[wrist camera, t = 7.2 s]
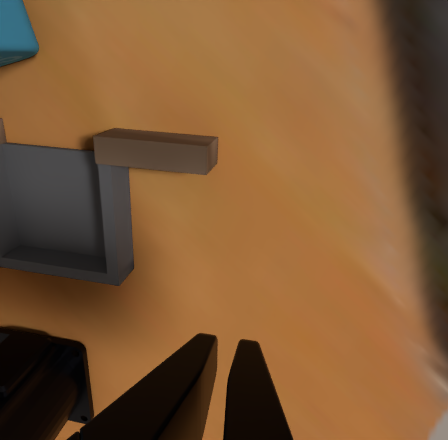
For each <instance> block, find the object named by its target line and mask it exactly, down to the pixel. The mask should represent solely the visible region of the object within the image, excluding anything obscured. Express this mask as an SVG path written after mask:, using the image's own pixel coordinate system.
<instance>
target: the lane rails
mask: <svg viewBox="0 0 448 440" xmlns="http://www.w3.org/2000/svg"><path fill="white" fill-rule="evenodd" d="M93 140H94V152H95V163H96V164H104V165H114V166H124V167H133V168H143V169H153V170H162V171H172V172H181V173H191V174H201V175H207V174H208V173H209V172H210V171H211V169H212V168H213V167H214V166H215V165H216V164H217V153H218V137H211V136H200V135H188V134H177V133H165V132H153V131H142V130H130V129H119V128H114V129H111V130H108V131H105V132H103V133H100V134H97V135H95V136H93ZM3 143H7V142H6V136H5V131H4V125H3V119H2V118H0V144H3Z"/></svg>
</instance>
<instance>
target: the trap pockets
mask: <svg viewBox="0 0 448 440" xmlns="http://www.w3.org/2000/svg"><path fill="white" fill-rule="evenodd" d="M0 267H4V268H10V269H17V270H23V271H29V272H35V273H42V274H48V275H54V276H60V277H67V278H73V279H79V280H85V281H92V282H98V283H104V284H110V285H116V286H120V284H121V283H122V282H123V281H124V280H125V278H126V277H127V276H128V275H129V274H130V273H131V271H132V270H133V269H134V260H133V241H132V223H131V204H130V185H129V167H124V166H114V165H104V164H96V163H95V152H94V151H88V150H78V149H68V148H58V147H48V146H37V145H27V144H17V143H3V144H0Z"/></svg>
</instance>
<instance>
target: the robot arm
mask: <svg viewBox="0 0 448 440" xmlns="http://www.w3.org/2000/svg"><path fill="white" fill-rule="evenodd" d="M217 346H218V340H217V337H216V336H215V335H211V334H204V333H199V334H197V335H196V336H194V337H193V338H192V339H191V340H189V341H188V342H187V343H186V344H185V345H183V346H182V347H181V348H180V349H178V350H177V351H176V352H175V353H173V354H172V355H171V356H170V357H168V358H167V359H166V360H165V361H164V362H162V363H161V364H160V365H159V366H157V367H156V368H155V369H154V370H152V371H151V372H150V373H149V374H147V375H146V376H145V377H144V378H142V379H141V380H140V381H139V382H138V383H136V384H135V385H134V386H133V387H131V388H130V389H129V390H128V391H126V392H125V393H124V394H123V395H121V396H120V397H119V398H118V399H116V400H115V401H114V402H113V403H112V404H110V405H109V406H108V407H107V408H105V409H104V410H103V411H102V412H100V413H99V414H98V415H97V416H95V417H94V410H93V402H92V394H91V385H90V377H89V369H88V360H87V352H86V348H85V347H84V345H82V344H80V343H77V342H72V341H67V340H62V339H56V338H51V337H46V336H41V335H35V334H30V333H25V332H20V331H14V330H9V329H4V328H0V440H55V438H56V437H57V435H58V434H59V432H60V431H61V429H62V428H63V426H64V425H65V423H66V422H67V421H68V420H70V421H75V422H79V423H83V424H86V425H84V426H83V427H82V428H81V429H80V433H79V432H75V433H74V434H73V435H72V436H70V437H69V438H68V439H67V440H202V437H203V433H204V429H205V424H206V419H207V415H208V410H209V405H210V401H211V396H212V391H213V387H214V382H215V377H216V372H217ZM77 351H78V352H77ZM93 417H94V418H93ZM223 440H293V437H292V434H291V431H290V429H289V426H288V423H287V420H286V417H285V415H284V412H283V409H282V406H281V403H280V401H279V398H278V395H277V392H276V389H275V387H274V384H273V381H272V378H271V375H270V373H269V370H268V367H267V364H266V361H265V359H264V356H263V353H262V350H261V348H260V345H259V343H258V342H257V341H252V340H245V339H241V340H240V341H239V343H238V346H237V349H236V353H235V356H234V359H233V363H232V366H231V369H230V373H229V377H228V383H227V394H226V408H225V422H224V436H223Z"/></svg>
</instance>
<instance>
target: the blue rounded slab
mask: <svg viewBox="0 0 448 440" xmlns="http://www.w3.org/2000/svg"><path fill="white" fill-rule="evenodd" d="M38 51H39V45H38V42H37V40H36V37H35V34H34V31H33V28H32V26H31V23H30V20H29V17H28V14H27V12H26V9H25V6H24V3H23V1H22V0H0V66H4V65H7V64H10V63H14V62H17V61H20V60H23V59H26V58H29V57H32V56H34V55H35V54H36V53H37V52H38Z"/></svg>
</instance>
